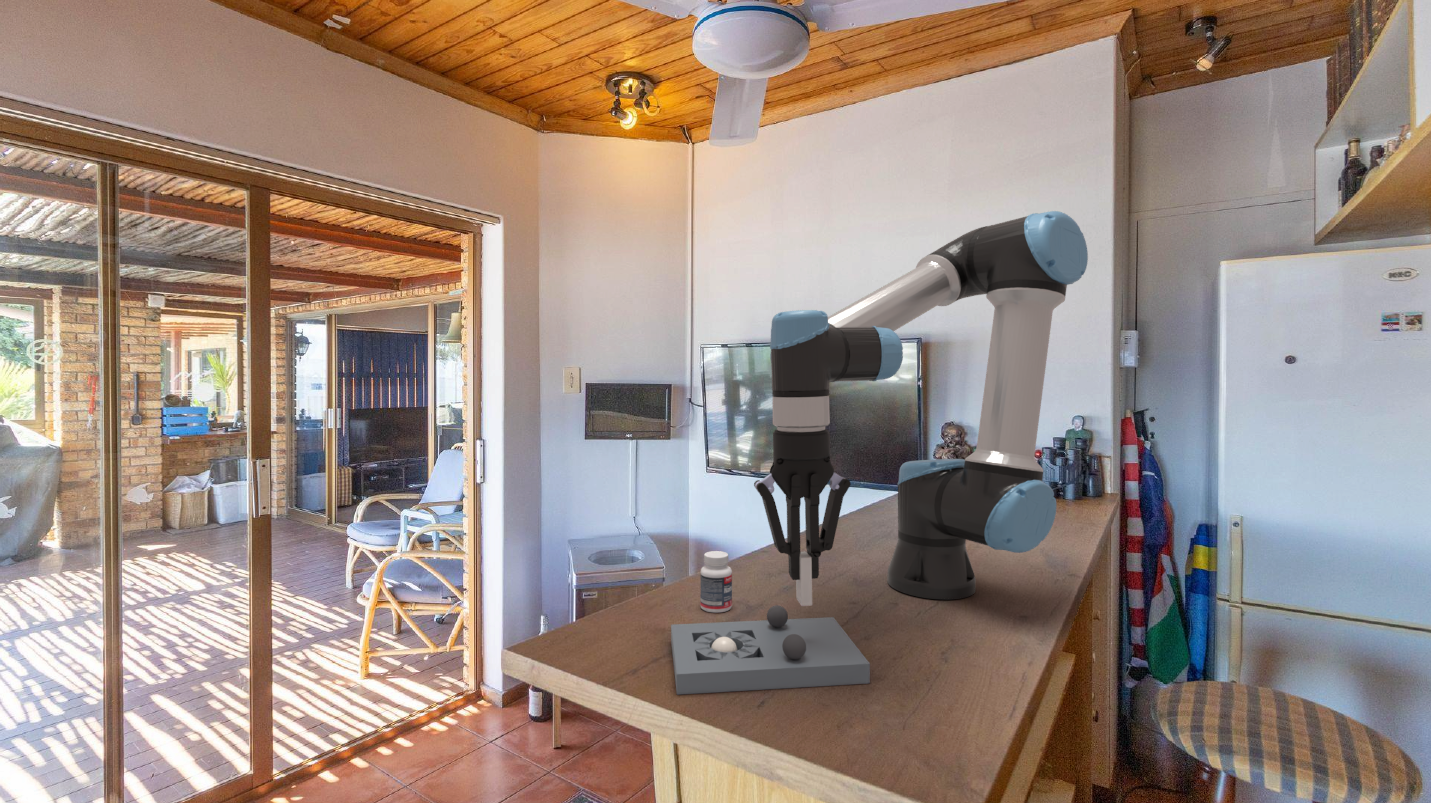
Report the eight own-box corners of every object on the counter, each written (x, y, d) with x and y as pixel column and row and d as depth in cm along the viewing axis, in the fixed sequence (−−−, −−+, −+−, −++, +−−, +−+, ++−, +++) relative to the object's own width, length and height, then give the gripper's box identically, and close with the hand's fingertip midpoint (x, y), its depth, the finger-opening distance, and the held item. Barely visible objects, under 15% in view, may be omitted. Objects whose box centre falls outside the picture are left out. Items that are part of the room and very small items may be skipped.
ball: (729, 627, 85) (705, 638, 84) (733, 641, 81) (708, 652, 81) (738, 649, 85) (714, 659, 85) (743, 663, 82) (718, 674, 82)
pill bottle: (728, 614, 100) (728, 559, 100) (697, 612, 101) (697, 558, 101) (734, 602, 105) (734, 550, 105) (704, 600, 106) (704, 549, 106)
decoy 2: (802, 652, 81) (802, 629, 81) (808, 663, 78) (809, 639, 78) (779, 653, 81) (780, 630, 80) (785, 664, 78) (785, 640, 77)
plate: (833, 633, 93) (833, 617, 93) (869, 683, 78) (869, 663, 78) (671, 641, 90) (671, 624, 90) (676, 694, 75) (676, 674, 75)
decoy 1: (785, 622, 91) (785, 601, 91) (790, 630, 88) (790, 609, 88) (764, 623, 90) (765, 602, 90) (769, 631, 87) (769, 610, 87)
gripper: (839, 423, 88) (842, 589, 89) (747, 427, 86) (751, 595, 87) (858, 429, 80) (860, 609, 82) (757, 432, 79) (762, 616, 80)
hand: (804, 601), depth 85 cm, fingers closed
